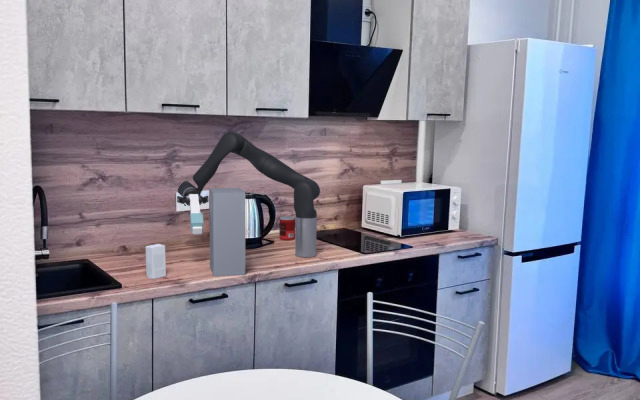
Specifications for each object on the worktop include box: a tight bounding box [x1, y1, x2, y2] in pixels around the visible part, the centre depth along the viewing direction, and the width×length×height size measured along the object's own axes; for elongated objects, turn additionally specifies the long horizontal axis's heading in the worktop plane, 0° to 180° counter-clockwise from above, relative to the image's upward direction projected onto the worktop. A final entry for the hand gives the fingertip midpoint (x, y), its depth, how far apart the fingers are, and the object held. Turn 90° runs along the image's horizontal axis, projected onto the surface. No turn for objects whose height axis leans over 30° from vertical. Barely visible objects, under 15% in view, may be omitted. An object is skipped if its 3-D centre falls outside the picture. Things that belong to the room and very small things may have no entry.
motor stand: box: [209, 187, 246, 277], centre depth 234 cm, size 14×12×32 cm
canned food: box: [278, 215, 296, 242], centre depth 299 cm, size 8×8×11 cm
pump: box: [189, 194, 204, 235], centre depth 243 cm, size 22×5×5 cm
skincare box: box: [145, 243, 167, 280], centre depth 225 cm, size 6×4×12 cm
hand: (194, 202), depth 247 cm, fingers closed on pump, 3 cm apart
